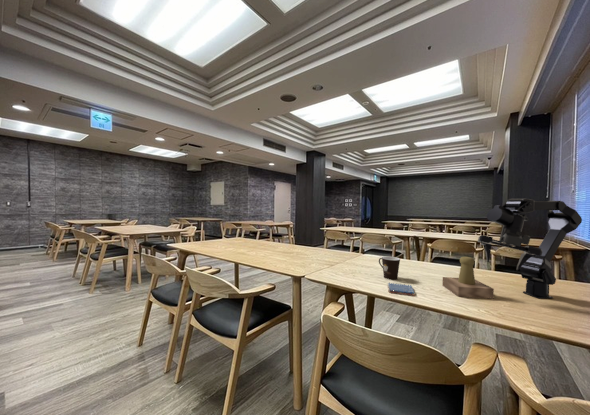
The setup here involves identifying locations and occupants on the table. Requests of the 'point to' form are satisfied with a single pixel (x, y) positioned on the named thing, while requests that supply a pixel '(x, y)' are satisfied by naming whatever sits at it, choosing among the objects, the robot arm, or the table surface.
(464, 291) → the walnut block
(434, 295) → the table surface
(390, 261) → the coffee mug
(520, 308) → the table surface
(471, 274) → the cork
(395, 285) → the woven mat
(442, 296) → the table surface
